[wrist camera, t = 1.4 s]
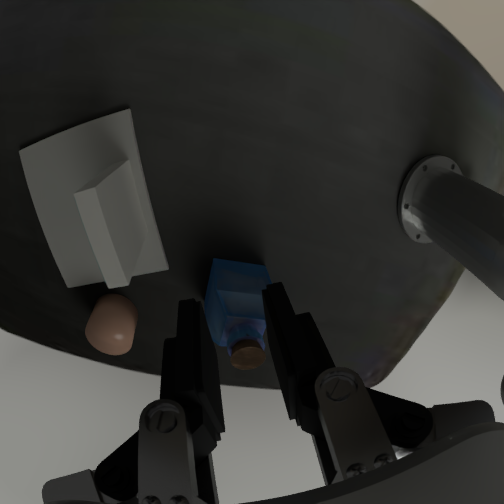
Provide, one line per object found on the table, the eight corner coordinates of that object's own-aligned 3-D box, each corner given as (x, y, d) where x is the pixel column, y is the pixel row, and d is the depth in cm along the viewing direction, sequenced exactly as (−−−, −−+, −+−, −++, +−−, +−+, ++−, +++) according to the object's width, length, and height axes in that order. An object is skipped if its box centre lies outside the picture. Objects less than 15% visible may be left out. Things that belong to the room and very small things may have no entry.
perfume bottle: (204, 300, 36) (208, 377, 26) (213, 257, 33) (220, 331, 23) (252, 306, 38) (270, 379, 27) (265, 265, 35) (291, 336, 24)
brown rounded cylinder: (128, 290, 34) (120, 315, 29) (144, 325, 37) (139, 352, 32) (88, 296, 33) (77, 321, 29) (105, 330, 36) (98, 356, 32)
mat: (130, 108, 24) (128, 108, 24) (169, 266, 33) (168, 269, 32) (21, 150, 23) (18, 151, 22) (69, 285, 32) (68, 287, 31)
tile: (129, 159, 26) (94, 187, 17) (148, 231, 30) (128, 285, 21) (111, 164, 26) (71, 194, 17) (131, 235, 30) (106, 289, 21)
